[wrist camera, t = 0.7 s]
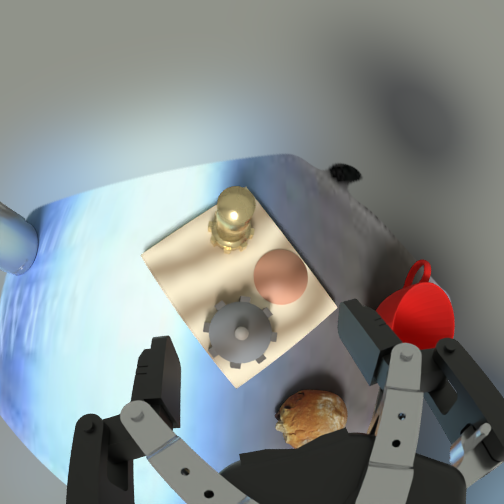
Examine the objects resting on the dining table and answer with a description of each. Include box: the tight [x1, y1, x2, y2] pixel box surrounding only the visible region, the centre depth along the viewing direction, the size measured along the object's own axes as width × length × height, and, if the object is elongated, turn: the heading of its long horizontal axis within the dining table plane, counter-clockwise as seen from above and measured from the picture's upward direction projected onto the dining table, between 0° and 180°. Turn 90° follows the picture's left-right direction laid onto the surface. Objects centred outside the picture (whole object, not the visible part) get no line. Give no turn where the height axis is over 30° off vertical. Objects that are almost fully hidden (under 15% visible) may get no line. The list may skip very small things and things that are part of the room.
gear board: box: [141, 187, 337, 389], centre depth 35 cm, size 22×18×5 cm
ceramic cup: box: [376, 260, 454, 350], centre depth 35 cm, size 13×17×10 cm
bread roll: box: [275, 390, 347, 448], centre depth 32 cm, size 10×10×8 cm
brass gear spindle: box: [208, 186, 256, 254], centre depth 33 cm, size 6×6×10 cm
